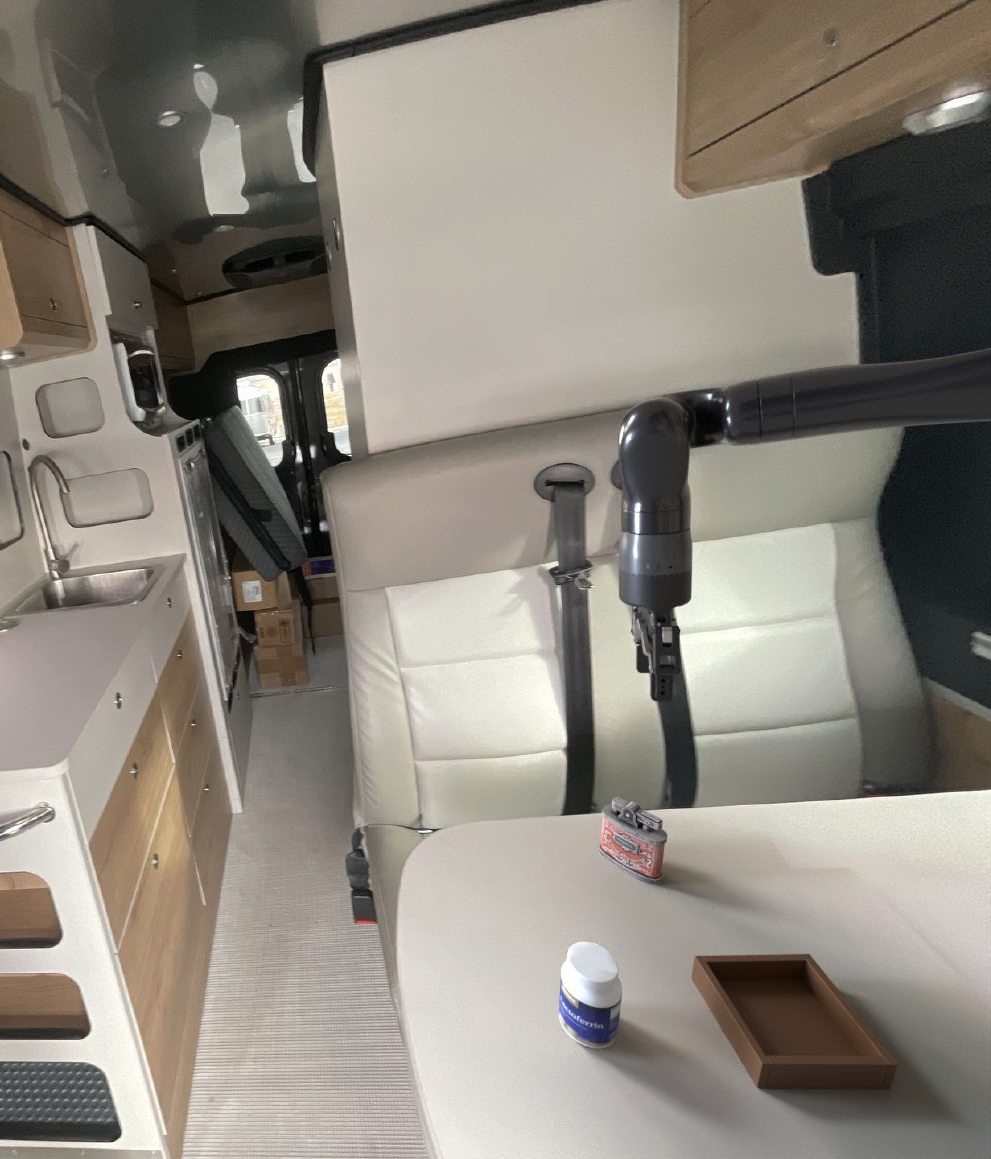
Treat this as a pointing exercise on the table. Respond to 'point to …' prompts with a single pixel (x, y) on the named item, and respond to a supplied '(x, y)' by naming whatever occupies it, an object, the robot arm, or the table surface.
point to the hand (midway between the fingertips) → (653, 685)
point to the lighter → (633, 840)
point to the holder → (791, 1023)
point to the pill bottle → (590, 995)
